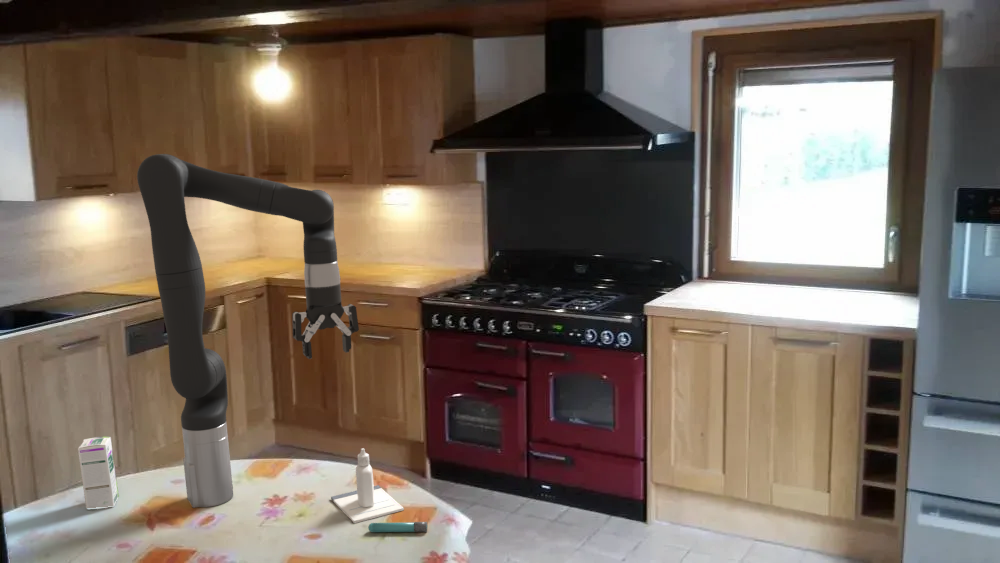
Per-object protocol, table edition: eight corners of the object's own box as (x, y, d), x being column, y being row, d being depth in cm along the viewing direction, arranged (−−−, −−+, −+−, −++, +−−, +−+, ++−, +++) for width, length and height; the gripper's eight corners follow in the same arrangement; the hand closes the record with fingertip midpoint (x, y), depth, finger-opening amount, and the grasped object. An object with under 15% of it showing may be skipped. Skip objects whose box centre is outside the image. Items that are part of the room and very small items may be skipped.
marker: (367, 533, 176) (367, 524, 175) (369, 529, 177) (369, 520, 177) (426, 533, 175) (426, 524, 175) (428, 529, 177) (427, 520, 176)
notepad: (354, 523, 181) (354, 520, 180) (331, 499, 193) (330, 496, 192) (403, 510, 186) (403, 507, 186) (378, 487, 198) (378, 485, 198)
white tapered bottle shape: (380, 497, 191) (376, 444, 189) (371, 508, 186) (368, 454, 184) (361, 496, 192) (357, 443, 190) (352, 507, 187) (348, 453, 185)
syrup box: (114, 507, 192) (107, 443, 190) (85, 511, 191) (77, 447, 188) (119, 497, 198) (111, 435, 195) (90, 500, 196) (82, 438, 194)
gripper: (347, 276, 199) (352, 346, 202) (285, 284, 192) (291, 356, 195) (359, 281, 193) (364, 353, 196) (295, 289, 186) (301, 363, 189)
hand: (327, 354), depth 196 cm, fingers open, 8 cm apart
